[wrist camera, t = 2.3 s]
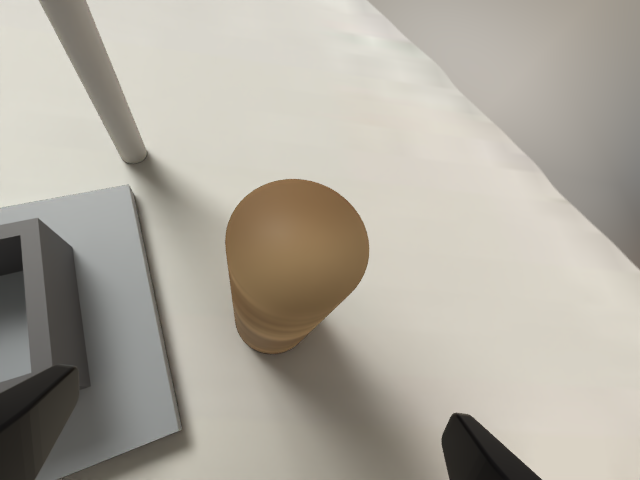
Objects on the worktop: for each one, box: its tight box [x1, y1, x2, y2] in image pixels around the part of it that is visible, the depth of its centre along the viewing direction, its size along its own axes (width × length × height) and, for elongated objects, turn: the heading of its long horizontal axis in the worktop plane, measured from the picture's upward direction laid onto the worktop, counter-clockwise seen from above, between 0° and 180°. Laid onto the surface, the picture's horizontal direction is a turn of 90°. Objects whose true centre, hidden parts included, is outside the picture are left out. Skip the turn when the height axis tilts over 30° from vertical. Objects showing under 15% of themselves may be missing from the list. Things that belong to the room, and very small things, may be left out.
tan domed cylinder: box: [225, 179, 369, 354], centre depth 15 cm, size 4×4×11 cm
